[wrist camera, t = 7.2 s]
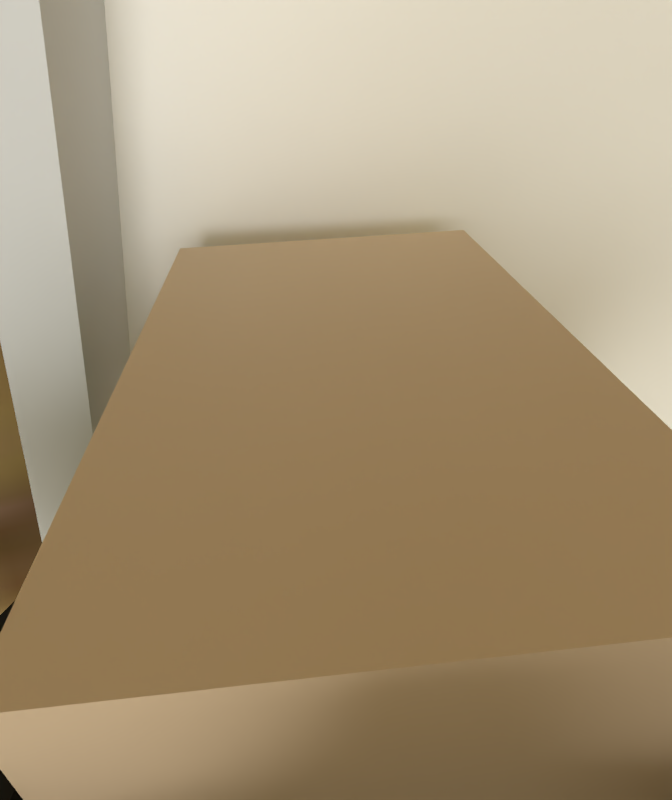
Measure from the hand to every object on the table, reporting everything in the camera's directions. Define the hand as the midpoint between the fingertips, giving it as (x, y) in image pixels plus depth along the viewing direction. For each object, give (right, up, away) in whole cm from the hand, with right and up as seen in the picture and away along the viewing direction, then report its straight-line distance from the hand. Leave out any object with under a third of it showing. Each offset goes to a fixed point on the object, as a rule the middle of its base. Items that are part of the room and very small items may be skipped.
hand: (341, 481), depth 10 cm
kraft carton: (0, +1, +2) cm, 2 cm away
